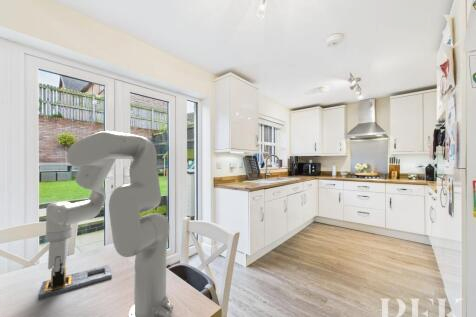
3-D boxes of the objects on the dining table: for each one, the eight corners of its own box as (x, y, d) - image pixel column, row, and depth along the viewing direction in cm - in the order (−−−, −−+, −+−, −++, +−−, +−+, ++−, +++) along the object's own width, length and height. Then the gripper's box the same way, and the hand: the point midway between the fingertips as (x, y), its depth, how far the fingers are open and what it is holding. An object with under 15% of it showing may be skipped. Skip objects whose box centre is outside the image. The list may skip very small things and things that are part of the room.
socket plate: (109, 267, 93) (109, 264, 93) (111, 278, 85) (111, 274, 85) (43, 285, 80) (43, 281, 80) (38, 299, 72) (38, 294, 72)
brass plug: (65, 281, 82) (66, 264, 82) (65, 286, 79) (65, 268, 79) (52, 285, 80) (52, 267, 80) (51, 290, 76) (51, 271, 76)
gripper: (49, 230, 84) (48, 275, 84) (42, 243, 70) (41, 297, 70) (72, 226, 88) (72, 269, 88) (70, 238, 75) (70, 289, 75)
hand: (58, 281), depth 79 cm, fingers closed on brass plug, 4 cm apart
